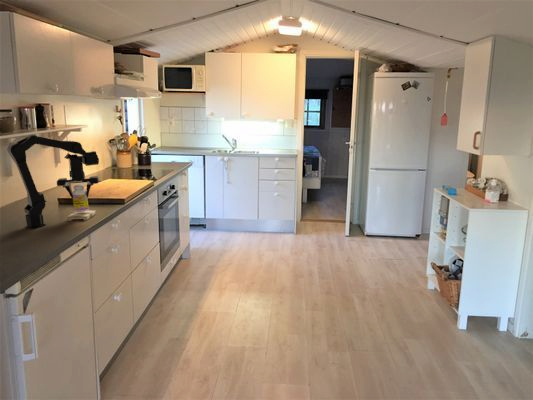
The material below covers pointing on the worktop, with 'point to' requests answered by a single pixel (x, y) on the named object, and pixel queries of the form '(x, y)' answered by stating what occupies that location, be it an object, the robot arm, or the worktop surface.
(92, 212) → the birch stand
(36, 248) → the worktop surface
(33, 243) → the worktop surface
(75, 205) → the supplement bottle
